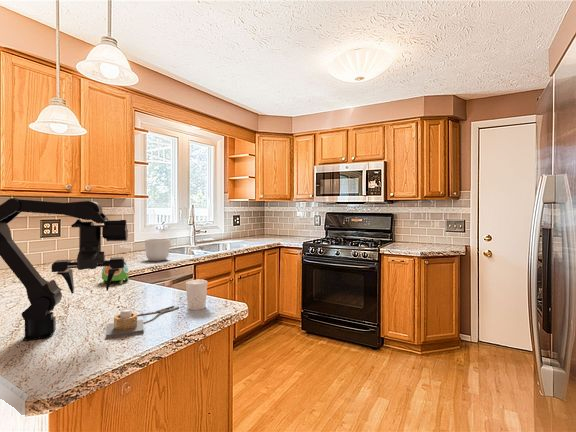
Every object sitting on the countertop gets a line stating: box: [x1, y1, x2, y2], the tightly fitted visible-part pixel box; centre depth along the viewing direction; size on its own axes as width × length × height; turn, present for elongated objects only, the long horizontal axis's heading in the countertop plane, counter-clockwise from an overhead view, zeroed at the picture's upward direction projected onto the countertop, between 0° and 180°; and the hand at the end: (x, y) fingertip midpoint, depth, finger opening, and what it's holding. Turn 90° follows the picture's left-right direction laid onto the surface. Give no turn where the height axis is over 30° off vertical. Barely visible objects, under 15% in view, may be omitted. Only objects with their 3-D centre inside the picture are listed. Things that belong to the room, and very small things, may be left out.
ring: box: [113, 312, 138, 331], centre depth 100 cm, size 6×6×4 cm
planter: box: [144, 238, 171, 262], centre depth 233 cm, size 17×17×15 cm
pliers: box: [137, 305, 180, 325], centre depth 115 cm, size 10×1×20 cm
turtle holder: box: [101, 258, 130, 285], centre depth 167 cm, size 12×18×12 cm
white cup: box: [185, 279, 208, 311], centre depth 124 cm, size 8×8×10 cm
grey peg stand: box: [105, 308, 145, 339], centre depth 100 cm, size 10×10×6 cm
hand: (90, 291), depth 99 cm, fingers open, 9 cm apart
